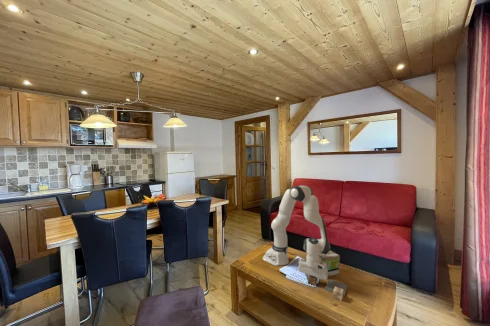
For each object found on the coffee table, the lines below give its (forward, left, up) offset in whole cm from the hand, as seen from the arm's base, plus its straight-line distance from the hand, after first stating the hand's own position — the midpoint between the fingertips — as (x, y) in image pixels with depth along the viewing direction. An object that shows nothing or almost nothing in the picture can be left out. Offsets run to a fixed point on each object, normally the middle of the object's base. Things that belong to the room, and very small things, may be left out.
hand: (312, 281), depth 150 cm
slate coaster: (+15, +4, -2) cm, 16 cm away
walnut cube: (0, 0, -2) cm, 2 cm away
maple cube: (+18, -5, -2) cm, 19 cm away
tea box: (+5, +20, -2) cm, 21 cm away
